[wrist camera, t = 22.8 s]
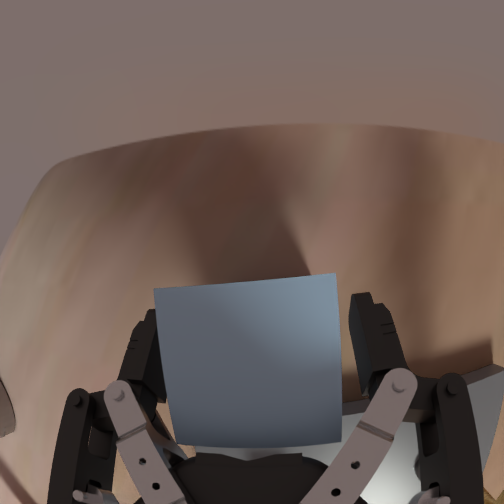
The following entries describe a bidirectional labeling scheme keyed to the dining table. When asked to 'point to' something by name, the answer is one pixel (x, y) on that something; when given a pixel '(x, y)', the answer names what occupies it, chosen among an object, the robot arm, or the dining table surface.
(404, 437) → the plate
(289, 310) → the light blue block
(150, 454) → the robot arm
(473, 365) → the dining table surface
